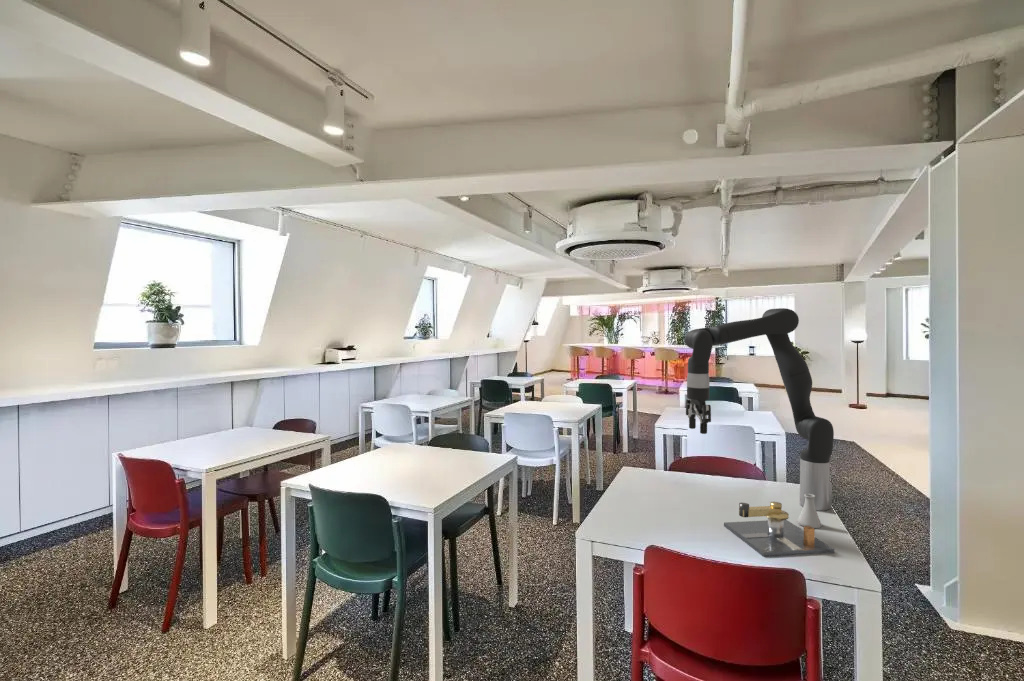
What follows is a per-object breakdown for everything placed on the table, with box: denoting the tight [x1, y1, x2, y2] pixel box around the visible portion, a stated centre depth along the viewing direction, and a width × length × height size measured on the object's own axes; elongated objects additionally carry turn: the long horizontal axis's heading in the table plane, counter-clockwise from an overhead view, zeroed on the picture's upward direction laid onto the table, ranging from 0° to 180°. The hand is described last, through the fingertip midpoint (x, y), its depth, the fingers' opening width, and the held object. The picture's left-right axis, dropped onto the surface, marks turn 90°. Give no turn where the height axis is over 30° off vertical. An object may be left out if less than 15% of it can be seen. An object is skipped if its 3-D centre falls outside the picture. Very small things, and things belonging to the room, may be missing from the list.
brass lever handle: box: [738, 501, 790, 521], centre depth 156 cm, size 15×7×4 cm, turn 96°
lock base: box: [723, 517, 835, 558], centre depth 156 cm, size 22×22×7 cm
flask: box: [796, 494, 823, 529], centre depth 167 cm, size 7×7×10 cm
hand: (697, 431), depth 178 cm, fingers open, 8 cm apart
